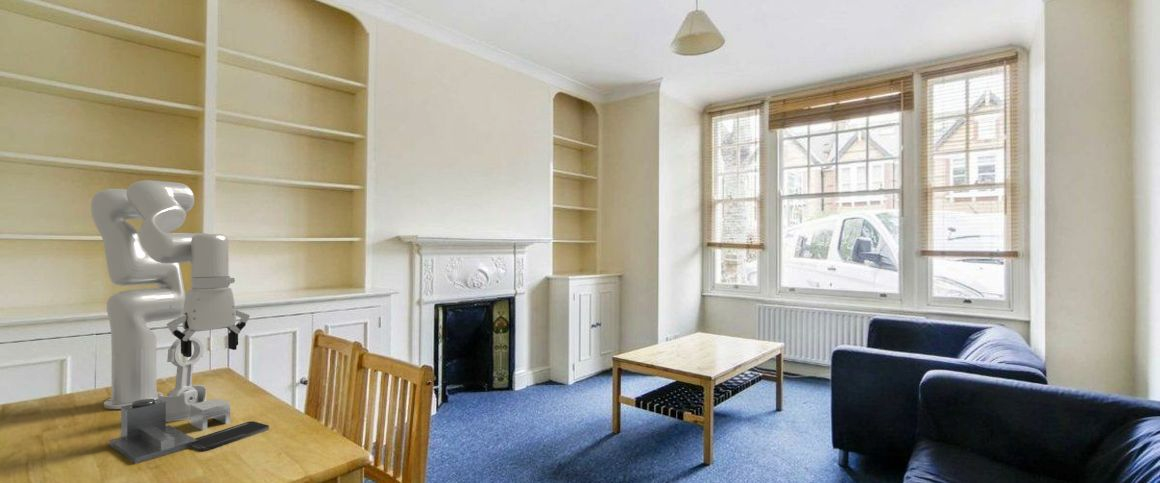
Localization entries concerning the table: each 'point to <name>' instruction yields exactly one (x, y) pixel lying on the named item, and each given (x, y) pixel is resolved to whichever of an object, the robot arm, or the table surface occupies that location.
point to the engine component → (183, 383)
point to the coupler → (148, 432)
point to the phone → (229, 435)
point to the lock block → (209, 412)
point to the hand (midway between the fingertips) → (210, 352)
